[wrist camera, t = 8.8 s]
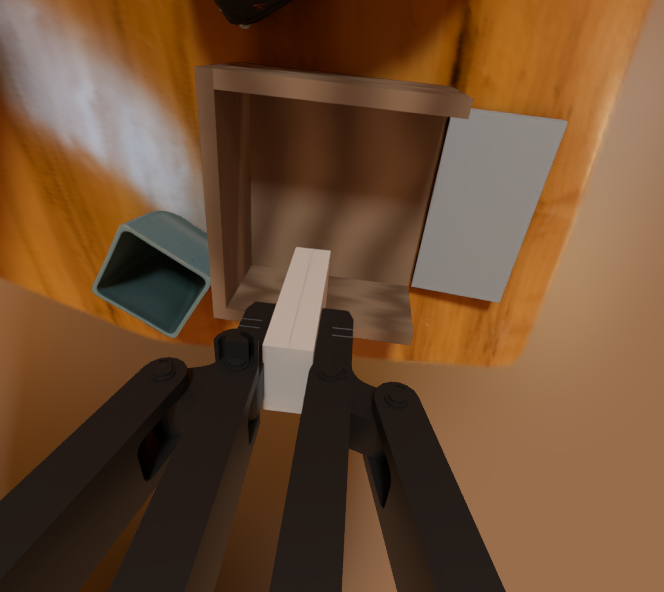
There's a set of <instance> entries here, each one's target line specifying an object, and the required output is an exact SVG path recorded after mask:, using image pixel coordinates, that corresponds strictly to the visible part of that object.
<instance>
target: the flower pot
mask: <svg viewBox="0 0 664 592" xmlns="http://www.w3.org/2000/svg"><path fill="white" fill-rule="evenodd" d="M210 286H211V276H210V263H209V250H208V237H207V234H206V233H205V232H203V231H202V230H200V229H198V228H197V227H195V226H194V225H192V224H191V223H189V222H188V221H187V220H185V219H184V218H182V217H180V216H178V215H176V214H173V213H170V212H166V211H154V212H150V213H147V214H145V215H143V216H140V217H138V218H136V219H133V220H131V221H129V222H127V223H124V224H122V225H120V226H119V228H118V230H117V233H116V235H115V237H114V240H113V242H112V244H111V247H110V249H109V251H108V254H107V256H106V258H105V260H104V263H103V265H102V267H101V269H100V272H99V273H98V276H97V278H96V280H95V282H94V283H93V286H92V292H93V293H94V294H95V295H97V296H98V297H100V298H102V299H103V300H105V301H107V302H109V303H111V304H112V305H114V306H116V307H118V308H119V309H121V310H123V311H125V312H127V313H128V314H130V315H132V316H134V317H135V318H137V319H139V320H141V321H143V322H144V323H146V324H148V325H149V326H151V327H153V328H154V329H156V330H158V331H159V332H161V333H163V334H164V335H166V336H168V337H171V338H176V337H177V336H178V335H179V333H180V331H181V330H182V328H183V327H184V325H185V323H186V322H187V320H188V319H189V317H190V316H191V314H192V313H193V311H194V310H195V308H196V307H197V305H198V304H199V302H200V301H201V299H202V298H203V296H204V295H205V294H206V292H207V291H208V289H209V288H210Z"/></svg>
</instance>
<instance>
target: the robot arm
mask: <svg viewBox="0 0 664 592" xmlns="http://www.w3.org/2000/svg"><path fill="white" fill-rule="evenodd" d="M330 254H331V251H329V250H319V249H310V248H301V247H296V249H295V251H294V254H293V257H292V260H291V263H290V266H289V269H288V272H287V275H286V278H285V281H284V284H283V287H282V290H281V292H280V295H279V298H278V301H277V304H275V303H266V302H257V301H255V302H254V303H253V304H251V305H250V306H249V307H248V308H246V311H245V313H244V315H243V317H242V320H241V322H240V324H239V326H238V329H230V330H226V331H223V332H222V333H220V334H218V335H217V336H216V337H215V339H214V349H215V359H216V361H215V363H213V364H211V365H207V366H202V367H195V368H187V366H186V365H185V363H184V362H183V361H181V360H179V359H177V358H170V357H167V358H160V359H157V360H154V361H152V362H150V363H149V364H147V365H145V366H144V367H143V368H142V369H141V370H140V371H139V372H138V373H137V374H135V375H134V376H133V377H132V378H131V379H130V380H129V381H128V382H127V383H126V384H125V385H124V386H123V387H122V388H120V389H119V390H118V391H117V392H116V393H115V394H114V395H113V396H112V397H111V398H110V399H109V400H108V401H107V402H106V403H104V405H102V406H101V407H100V408H99V409H98V410H97V411H96V412H95V413H94V414H93V415H92V416H91V417H89V418H88V419H87V420H86V421H85V422H84V423H83V424H82V425H81V426H80V427H79V428H78V429H77V430H76V431H75V432H74V433H72V434H71V435H70V436H69V437H68V438H67V439H66V440H65V441H64V442H63V443H62V444H61V445H60V446H58V447H57V448H56V449H55V450H54V451H53V452H52V453H51V454H50V455H49V456H48V457H47V458H46V459H45V460H43V461H42V462H41V463H40V464H39V465H38V466H37V467H36V468H35V469H34V470H33V471H32V472H31V473H30V474H29V475H27V476H26V477H25V478H24V479H23V480H22V481H21V482H20V483H19V484H18V485H17V486H16V487H15V488H14V489H12V490H11V491H10V493H8V494H7V495H6V496H5V497H4V498H3V499H2V500H1V501H0V592H78V591H79V590H80V588H81V587H82V586H83V584H84V583H85V582H86V580H87V579H88V578H89V576H90V575H91V574H92V572H93V571H94V570H95V568H96V567H97V566H98V564H99V563H100V562H101V560H102V559H103V558H104V556H105V555H106V554H107V552H108V551H109V549H110V548H111V547H112V546H113V544H114V543H115V542H116V540H117V539H118V537H119V536H120V535H121V534H122V532H123V531H124V529H125V528H126V527H127V525H128V524H129V523H130V521H131V520H132V519H133V517H134V516H135V515H136V513H137V512H138V511H139V509H140V508H141V507H142V505H143V504H144V503H145V501H146V500H147V499H148V497H149V496H150V495H151V493H152V492H153V490H154V489H155V488H156V487H157V488H156V490H155V492H154V494H153V496H152V499H151V501H150V503H149V505H148V507H147V509H146V512H145V514H144V516H143V518H142V520H141V522H140V524H139V527H138V529H137V531H136V533H135V535H134V538H133V540H132V542H131V544H130V546H129V548H128V550H127V552H126V554H125V557H124V559H123V561H122V563H121V565H120V567H119V569H118V572H117V574H116V576H115V578H114V580H113V582H112V584H111V587H110V589H109V591H108V592H214V588H215V584H216V581H217V577H218V573H219V570H220V566H221V563H222V558H223V555H224V551H225V548H226V544H227V541H228V537H229V533H230V530H231V526H232V523H233V519H234V515H235V512H236V508H237V504H238V501H239V497H240V494H241V490H242V486H243V483H244V479H245V475H246V472H247V468H248V465H249V461H250V457H251V454H252V449H253V446H254V442H255V439H256V435H257V432H258V428H259V424H260V409H261V406H262V403H263V409H265V410H273V411H283V412H291V413H299V414H301V418H300V424H299V429H298V435H297V440H296V446H295V452H294V457H293V462H292V468H291V473H290V479H289V484H288V490H287V495H286V502H285V507H284V512H283V518H282V523H281V529H280V535H279V540H278V546H277V551H276V557H275V562H274V568H273V573H272V579H271V584H270V590H269V592H342V573H343V552H344V532H345V512H346V492H347V470H348V451H349V448H350V449H352V450H354V451H357V452H359V453H361V454H363V459H364V463H365V467H366V471H367V475H368V479H369V483H370V487H371V490H372V494H373V498H374V502H375V506H376V510H377V514H378V517H379V522H380V526H381V530H382V534H383V538H384V541H385V545H386V549H387V553H388V557H389V561H390V565H391V569H392V572H393V576H394V580H395V584H396V588H397V592H506V591H505V589H504V587H503V585H502V582H501V580H500V578H499V576H498V573H497V571H496V569H495V567H494V565H493V562H492V560H491V558H490V556H489V553H488V551H487V549H486V547H485V545H484V542H483V540H482V538H481V536H480V533H479V531H478V529H477V527H476V524H475V522H474V520H473V518H472V515H471V513H470V511H469V509H468V506H467V504H466V502H465V500H464V497H463V495H462V493H461V491H460V488H459V486H458V484H457V482H456V480H455V477H454V475H453V473H452V471H451V468H450V466H449V464H448V462H447V459H446V457H445V455H444V453H443V450H442V448H441V446H440V444H439V442H438V439H437V437H436V435H435V433H434V430H433V428H432V426H431V424H430V422H429V419H428V417H427V415H426V412H425V410H424V408H423V406H422V404H421V401H420V399H419V397H418V395H417V394H416V393H415V391H414V390H413V389H411V388H409V387H408V386H407V385H404V384H402V383H399V382H387V383H383V384H381V385H380V386H379V387H377V388H376V387H373V386H370V385H368V384H366V383H364V382H362V381H361V380H360V379H358V378H357V377H356V375H355V374H354V372H353V371H352V365H351V364H352V344H353V323H354V319H353V318H352V316H351V314H350V312H349V311H346V310H337V309H328V308H325V307H326V298H327V287H328V276H329V265H330ZM157 485H158V486H157Z"/></svg>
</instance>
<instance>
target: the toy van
mask: <svg viewBox="0 0 664 592" xmlns="http://www.w3.org/2000/svg"><path fill="white" fill-rule="evenodd" d="M291 1H293V0H214V2H215V3H216V4H217V6H218V7H219V9H220V11H221V12H222V13H223V14H224V16H225V17H226V19H227V20H228V21H229V22H230V23H232V24H235V25H239V26H240V28H243V29H247V28H249V27H250V26H251V24H253V23H256V22H258V21H260V20H262V19H264V18H265V17H267V16H269V15H270V14H272V13H273V12H275V11H277V10H278V9H280V8H282V7H283V6H285V5H287V4H288V3H290V2H291Z"/></svg>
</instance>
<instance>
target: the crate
mask: <svg viewBox="0 0 664 592" xmlns="http://www.w3.org/2000/svg"><path fill="white" fill-rule="evenodd" d="M195 79H196V92H197V105H198V118H199V131H200V145H201V158H202V171H203V184H204V197H205V211H206V224H207V237H208V250H209V263H210V276H211V290H212V303H213V316H214V318H219V319H226V320H233V321H240V322H241V320H242V317H243V315H244V313H245V311H246V308H248V307H249V306H250V305H251V304H253V303H254V302H255V301H257V302H266V303H275V304H277V301H278V298H279V295H280V292H281V290H282V287H283V284H284V281H285V278H286V275H287V272H288V269H289V266H290V263H291V260H292V257H293V254H294V251H295V249H296V247H301V248H310V249H319V250H329V251H331V254H330V265H329V276H328V287H327V298H326V307H325V308H328V309H337V310H346V311H349V312H350V314H351V316H352V318H353V319H354V323H353V337H354V338H361V339H369V340H376V341H383V342H390V343H397V344H404V345H411V342H412V338H413V327H412V318H411V309H410V300H409V291H408V284H409V279H410V275H411V271H412V266H413V262H414V257H415V253H416V249H417V244H418V240H419V235H420V231H421V227H422V222H423V218H424V214H425V209H426V205H427V200H428V196H429V192H430V187H431V183H432V178H433V174H434V170H435V165H436V161H437V156H438V152H439V148H440V143H441V139H442V134H443V130H444V126H445V121H446V117H453V118H462V119H469V115H470V111H471V107H472V103H473V98H471V97H469V96H468V95H466V94H464V93H462V92H460V91H458V90H457V89H455V88H453V87H450V86H442V85H433V84H424V83H416V82H407V81H398V80H390V79H381V78H372V77H363V76H355V75H346V74H337V73H329V72H320V71H311V70H303V69H294V68H285V67H276V66H268V65H259V64H250V63H242V62H235V63H225V64H215V65H204V66H195Z"/></svg>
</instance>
